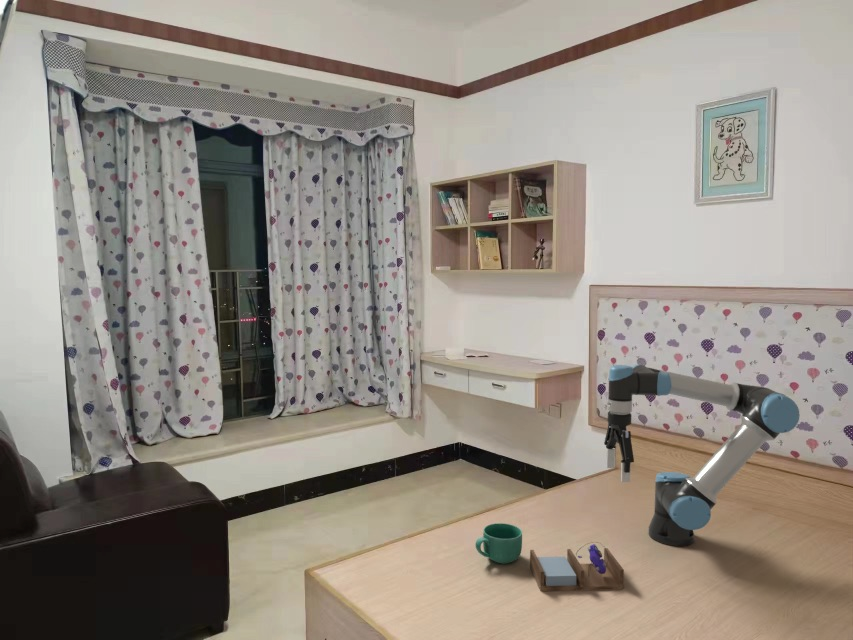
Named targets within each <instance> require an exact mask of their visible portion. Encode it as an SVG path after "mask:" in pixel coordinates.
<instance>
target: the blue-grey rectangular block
mask: <svg viewBox="0 0 853 640" xmlns="http://www.w3.org/2000/svg"><path fill="white" fill-rule="evenodd" d="M537 558H538V560H539V562H540V564H541V566H542V568H543V570H544V582H545V584H546V586H568V585H576V574H575V573H574V571H573V569H572V567H571V566H570V564H569V562H568V561H567V556H537Z"/></svg>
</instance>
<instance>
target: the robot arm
mask: <svg viewBox="0 0 853 640" xmlns="http://www.w3.org/2000/svg"><path fill="white" fill-rule="evenodd" d="M634 395H636V396H657V397H660V396H668V395H673V396H676V397H677V396H678V397H682V398H687V399H691V400H696V401H701V402H706V403H710V404H715V405H718V406H722V407H723V406H724V407H725V408H726V409H727V410H728V411H732V412H733V411H734V412H736V413H739V414H742V415H741V416H740V417H741V423H740V424H739V425H738V426H737V428H736V429H735V430H734V431H733V432H732V433H731V435H730V436H729V437H728V438H727V439H726V440H725V441H724V442H723V443H722V445H721V446H720V447H719V448H717V450H716V451H715V453H713V455H712V456H710V458H709V459H708V460H707V462H705V464H704V465H703V466H702V467H701V468H700V469H699V470H698V471H697V472H696V474H695V475H694V476H693V477H691V476H690V475H688V474H685V473H681V472H675V471H663V472H658V473H656V476H655V480H654V484H655V486H654V513H653V516H652V518H651V520H650V523H649V526H648V535H649V537H650V538H651V539H652V540H654V541H655V542H658V543H661V544H664V545H668V546H675V547H684V546H685V547H686V546H690V545H692V544H693V543H694V542H695V532H694V531H696V530H700V529H702V528H704V527H706V525H707V524H708V523H709V521H710V520H711V515H712V511H711V510H712V509H713V508H714V506H715V505H716V504H717V495H719V493H720V492H721V491H722V490H723V489H724V488H725V486H727V484H728V483H729V482H730V481H731V480H732V478H734V476H735V475H736V474H737V473H738V472H739V471H740V470H741V469H742V467H744V466H745V464H747V462H748V461H750V459H751V458H752V457H753V456H754V455H755V453H757V451H758V450H759V449H760V447H762V446H763V444H765V442H767V441H775V439H776V438H777V437H778V436H779V435H780V434H784V433H789V432H790V431H792V430H794V429H795V428H796V427H797V425H798V423H799V421H800V410H799V409H800V408H799V406H798V405H797V403H796V402H795V401H794V400H793V399H792V398H790V397H789V396H787V395H786V394H784V393H781V392H777V391H775V390H773V389H770V388H768V387H765V386H764V387H763V386H758V385H750V384H742V383H737V382H732V383H730V384H727V383H722V382H718V381H713V380H709V379H704V378H699V377H694V376H690V375H685V374H681V373H676V372H671V371H666V370H662V369H656V368H652V367H648V366H646V365H643V364H635V365H633V366H631V365H626V364H615V365H611V366H610V368H609V374H608V401H607V402H606V405H607V410H608V412H607V429H606V434H605V437H604V442H603V444H604V445H605V447H606V460H605V461H606V462H605V463H606V465H605V467H606V469H615V466H616V463H615V462H616V448H617V446H616V444H618V445H619V449H620V455H621V458H622V459H621V460H620V464H621V466H620V467H621V468H620V469H621V471H620V472H621V473H620V474H621V475H620V482H621V483H630V482H631V463H634V462H635V458H634V452H633V445H632V433H631V431H630V430H627V426H631V424H632V411H633V396H634Z"/></svg>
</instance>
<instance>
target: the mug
mask: <svg viewBox="0 0 853 640" xmlns="http://www.w3.org/2000/svg"><path fill="white" fill-rule="evenodd" d="M482 534H483V536H480V537H478V538H477V539H476V541H475V549H476V551H477V552H478V553H479V554H480V555H481V556H482V557H485V558H488V559H490V560H492V561H493V562H495V563H497V564H509V563H513V562H515V561H516V560H517V559H519V557H520V556H521V553H522V548H523V531H522V529H521V528H519V527H518V526H516V525H515V524H514V525H513V524H510V523H503V522H499V523H497V522H496V523H491V524H488V525H486V526H485V527H484V528H483V533H482ZM482 545H483V546H482ZM481 546H482V547H483V550H482V548H481Z"/></svg>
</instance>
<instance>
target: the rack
mask: <svg viewBox="0 0 853 640" xmlns="http://www.w3.org/2000/svg"><path fill="white" fill-rule="evenodd" d="M605 548H606V549H605ZM606 550H607V551H606ZM566 551H567V553H566V559H567V561H568V562H569V564H570V566H571V567H572V569H573V571H574V573H575V574H576V585H568V586H546V584H545V582H544V570H543V568H542V566H541V564H540V562H539V560H538V558H537V557H538V556H537V554H536V552H535V550H534V549H530V550H529V568H530V571H531V573H532V576H533V578H534V580H535V582H536V584H537V586H538V589H539V591H540V592H556V591H557V592H558V591H562V592H564V591H566V592H567V591H597V590H598V591H601V590H602V591H603V590H606V591H607V590H624V579H625V577H624V576H625V575H624V573H625V569H624V568H623V567H622V565H621V563H619V562H618V560H617V559H616V557H615V556H614V555H613V554H612V553H611V551H610V550H609V548H607V547H603V560H604V561H605V563H606V565H607V566H605V567H606V572H605V573H604V574H600V573H599V572H598V571H596V567H595V565H594V564H593V563H580V562H579V560H578V559H577V556H576V554H575V553H573V551H572V549H571V548H567V550H566ZM607 553H608V554H607ZM607 562H608V564H607ZM590 564H592V565H590ZM589 565H590V567H591V569H590V567H589ZM588 570H589V574H590V575H589V576H588Z"/></svg>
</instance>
